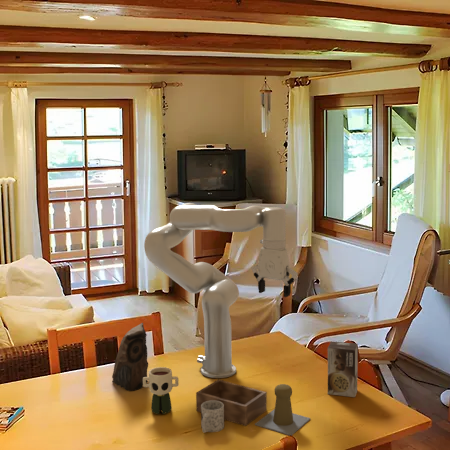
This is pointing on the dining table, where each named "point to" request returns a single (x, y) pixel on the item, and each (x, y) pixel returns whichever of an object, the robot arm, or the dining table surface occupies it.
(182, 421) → the dining table surface
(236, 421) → the walnut box
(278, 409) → the cork
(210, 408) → the mug
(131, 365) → the owl
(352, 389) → the coffee box
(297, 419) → the grey mat
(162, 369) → the character mug
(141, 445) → the dining table surface
